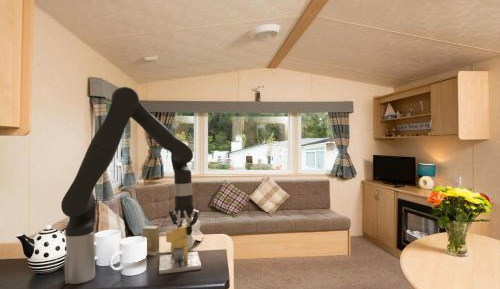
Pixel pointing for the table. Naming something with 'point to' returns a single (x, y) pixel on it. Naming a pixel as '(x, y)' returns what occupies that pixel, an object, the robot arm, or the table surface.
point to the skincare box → (152, 239)
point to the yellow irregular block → (177, 236)
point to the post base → (175, 265)
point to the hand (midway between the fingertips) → (185, 234)
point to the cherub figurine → (194, 232)
